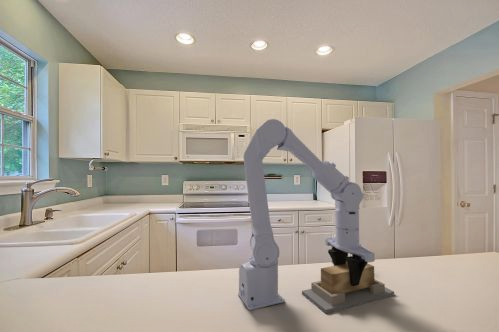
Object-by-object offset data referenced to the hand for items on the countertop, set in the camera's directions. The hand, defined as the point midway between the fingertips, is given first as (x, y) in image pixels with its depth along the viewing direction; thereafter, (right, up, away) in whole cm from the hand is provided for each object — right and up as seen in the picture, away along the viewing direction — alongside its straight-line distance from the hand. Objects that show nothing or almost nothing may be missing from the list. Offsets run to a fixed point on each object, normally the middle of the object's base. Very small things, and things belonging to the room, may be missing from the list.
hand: (347, 280), depth 59 cm
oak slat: (0, -2, 0) cm, 2 cm away
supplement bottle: (+6, -5, +20) cm, 21 cm away
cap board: (0, -3, 0) cm, 3 cm away
